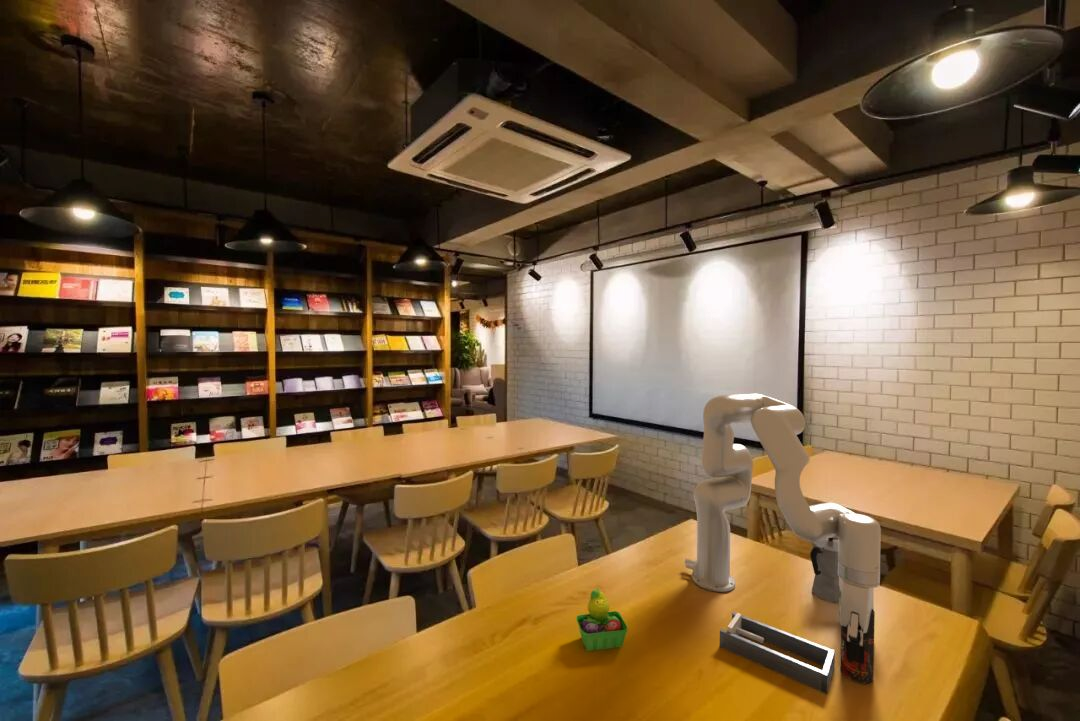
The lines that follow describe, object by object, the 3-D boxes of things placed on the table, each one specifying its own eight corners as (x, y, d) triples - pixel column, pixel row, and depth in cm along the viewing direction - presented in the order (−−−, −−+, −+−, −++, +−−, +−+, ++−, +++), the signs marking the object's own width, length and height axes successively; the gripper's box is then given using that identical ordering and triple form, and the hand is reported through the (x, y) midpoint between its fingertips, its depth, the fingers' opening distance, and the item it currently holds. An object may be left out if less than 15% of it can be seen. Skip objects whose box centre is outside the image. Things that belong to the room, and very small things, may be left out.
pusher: (727, 644, 106) (727, 626, 106) (737, 629, 111) (737, 612, 111) (758, 658, 101) (758, 639, 101) (767, 642, 107) (767, 623, 107)
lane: (719, 646, 106) (719, 630, 106) (733, 627, 113) (733, 611, 113) (826, 694, 91) (827, 675, 91) (834, 667, 99) (834, 650, 99)
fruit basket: (583, 655, 103) (583, 608, 103) (574, 631, 112) (574, 588, 112) (629, 650, 105) (629, 604, 105) (616, 627, 114) (617, 584, 113)
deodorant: (833, 665, 100) (834, 600, 99) (858, 663, 100) (859, 599, 100) (854, 685, 94) (855, 616, 93) (880, 683, 94) (881, 615, 94)
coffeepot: (827, 581, 135) (827, 524, 135) (860, 597, 127) (861, 536, 126) (795, 594, 128) (795, 533, 128) (828, 611, 120) (829, 547, 119)
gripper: (843, 553, 105) (842, 626, 106) (831, 582, 92) (830, 665, 93) (882, 563, 100) (881, 640, 101) (876, 595, 87) (874, 683, 88)
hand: (856, 651), depth 97 cm, fingers closed on deodorant, 5 cm apart
